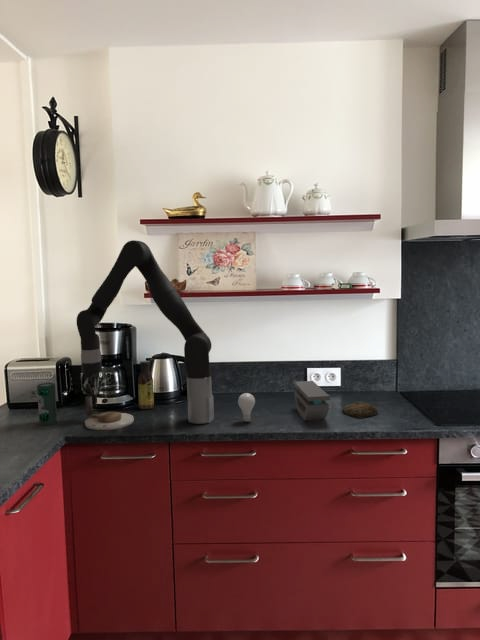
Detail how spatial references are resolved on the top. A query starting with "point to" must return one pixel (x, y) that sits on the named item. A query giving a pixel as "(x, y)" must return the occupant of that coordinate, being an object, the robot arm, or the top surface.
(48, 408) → the green patterned block
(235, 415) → the top surface
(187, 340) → the robot arm
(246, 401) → the lightbulb
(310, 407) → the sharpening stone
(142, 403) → the sauce bottle
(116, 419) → the brown disc with handle
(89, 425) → the dial base
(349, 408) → the bread roll
